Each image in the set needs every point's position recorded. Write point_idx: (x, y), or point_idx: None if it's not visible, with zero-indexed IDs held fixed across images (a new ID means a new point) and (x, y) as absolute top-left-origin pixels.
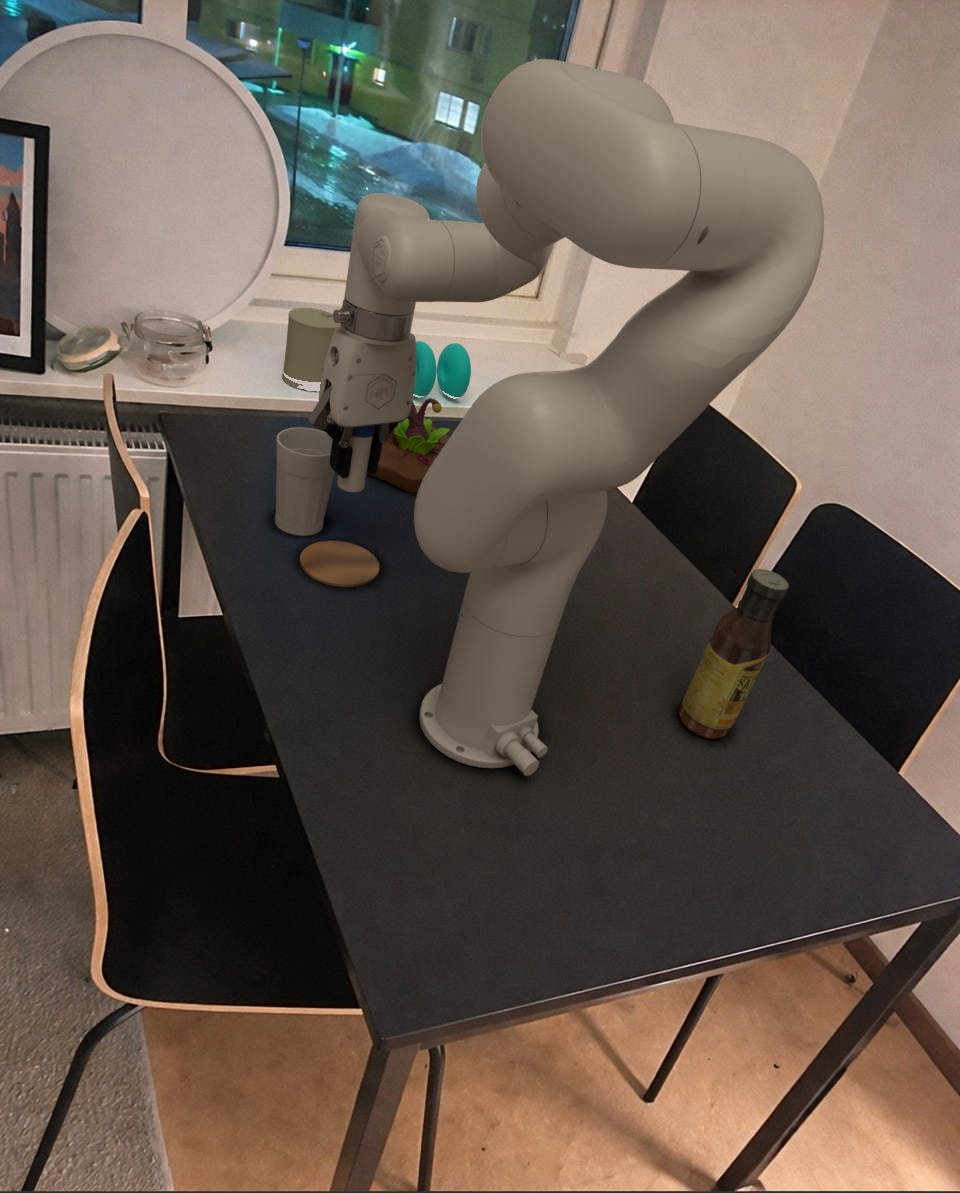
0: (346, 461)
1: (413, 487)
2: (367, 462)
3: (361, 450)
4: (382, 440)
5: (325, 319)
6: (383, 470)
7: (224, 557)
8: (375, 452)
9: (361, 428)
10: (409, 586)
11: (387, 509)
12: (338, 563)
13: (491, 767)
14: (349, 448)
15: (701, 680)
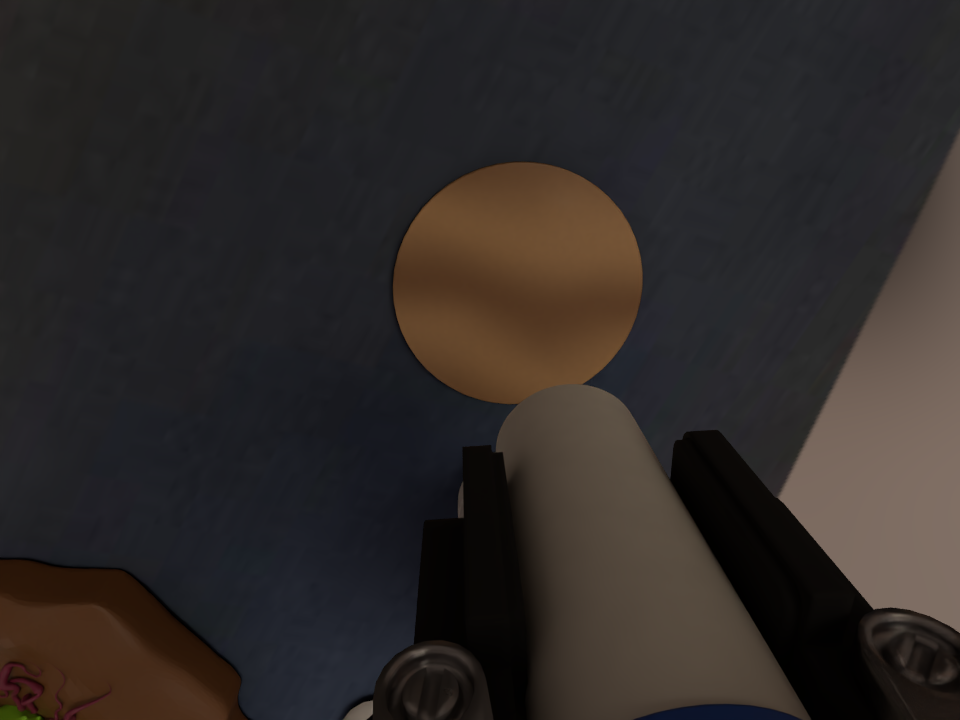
0: (781, 506)
1: (106, 582)
2: (550, 507)
3: (681, 579)
4: (447, 669)
5: None
6: (178, 658)
7: (797, 404)
8: (509, 562)
9: None
10: (346, 104)
11: (232, 511)
12: (528, 287)
13: None
14: (843, 599)
15: None
